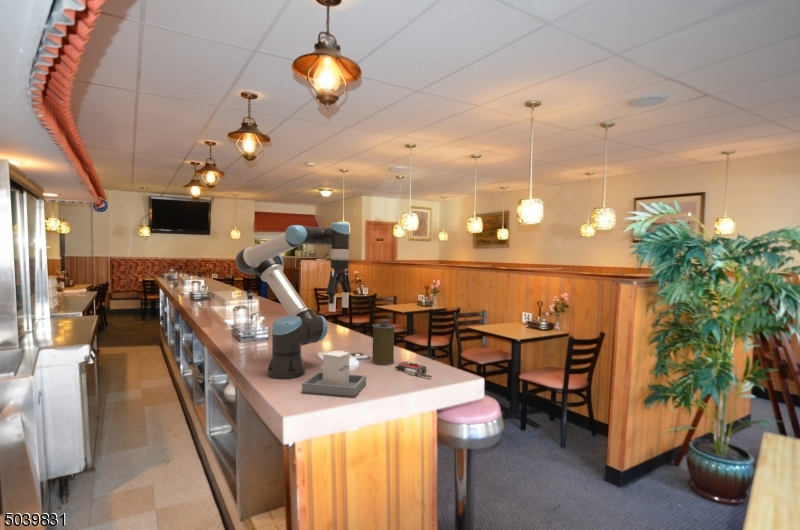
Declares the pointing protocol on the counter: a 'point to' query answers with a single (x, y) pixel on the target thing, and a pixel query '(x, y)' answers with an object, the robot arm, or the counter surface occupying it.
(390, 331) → the canister
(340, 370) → the supplement box
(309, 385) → the grey tray
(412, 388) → the counter surface
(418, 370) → the red grey elongated piece
